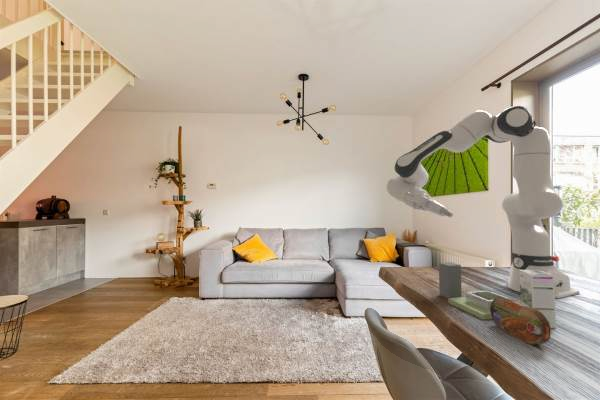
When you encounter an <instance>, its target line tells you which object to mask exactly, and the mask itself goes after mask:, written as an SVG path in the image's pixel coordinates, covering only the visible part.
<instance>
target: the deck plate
mask: <svg viewBox="0 0 600 400" xmlns="http://www.w3.org/2000/svg"><path fill="white" fill-rule="evenodd" d="M496 298H506V299H511V300H513V299H512V298H509V297H507V296H505V295H501V294H499V293H495V292H493V291H490V290H477V291H466V292H465V296H462V297H458V298H448V299H447V303H448V304H450V305H452V306H454V307H456V308H459V309H460V310H463V311H465V312H466V313H469V314H471V315H472V316H475V317H477V318H479V319H481V320H483V321H484V320H493V319H492V316H491V312H490V307H491V303H492V301H493V300H494V299H496Z"/></svg>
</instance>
